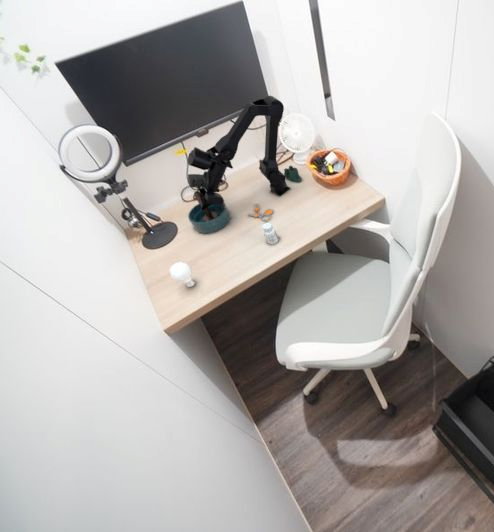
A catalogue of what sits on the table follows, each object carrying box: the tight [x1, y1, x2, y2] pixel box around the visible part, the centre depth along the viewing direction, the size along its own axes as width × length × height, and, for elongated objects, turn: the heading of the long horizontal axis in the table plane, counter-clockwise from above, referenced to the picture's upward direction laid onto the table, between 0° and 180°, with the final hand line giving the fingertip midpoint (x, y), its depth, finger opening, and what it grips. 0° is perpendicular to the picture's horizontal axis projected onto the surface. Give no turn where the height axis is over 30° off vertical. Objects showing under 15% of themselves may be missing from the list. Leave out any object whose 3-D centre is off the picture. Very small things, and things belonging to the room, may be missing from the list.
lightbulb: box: [169, 261, 196, 288], centre depth 109 cm, size 6×6×11 cm
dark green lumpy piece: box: [283, 165, 303, 183], centre depth 149 cm, size 11×4×5 cm, turn 48°
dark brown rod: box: [193, 190, 218, 222], centre depth 130 cm, size 6×6×15 cm
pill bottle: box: [262, 222, 279, 245], centre depth 121 cm, size 4×4×8 cm
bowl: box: [188, 202, 231, 234], centre depth 133 cm, size 15×15×6 cm
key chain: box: [248, 203, 273, 222], centre depth 135 cm, size 13×7×1 cm, turn 54°
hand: (201, 208), depth 129 cm, fingers closed on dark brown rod, 2 cm apart
